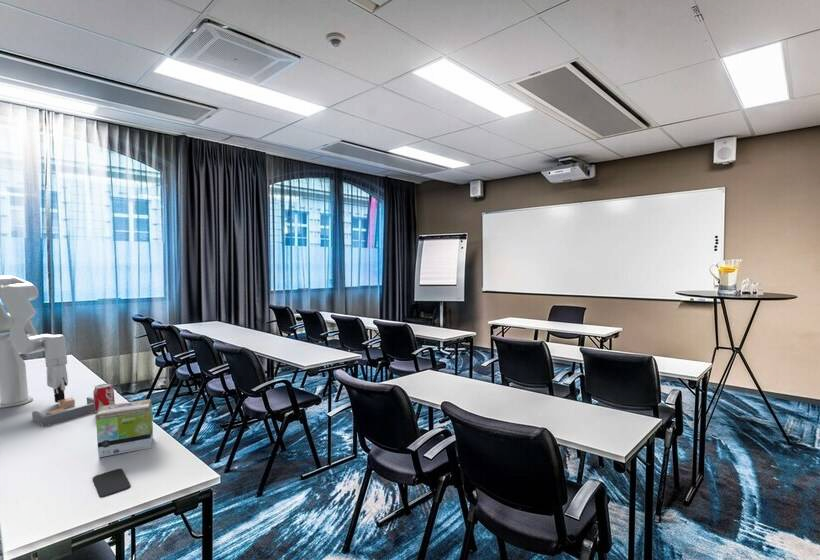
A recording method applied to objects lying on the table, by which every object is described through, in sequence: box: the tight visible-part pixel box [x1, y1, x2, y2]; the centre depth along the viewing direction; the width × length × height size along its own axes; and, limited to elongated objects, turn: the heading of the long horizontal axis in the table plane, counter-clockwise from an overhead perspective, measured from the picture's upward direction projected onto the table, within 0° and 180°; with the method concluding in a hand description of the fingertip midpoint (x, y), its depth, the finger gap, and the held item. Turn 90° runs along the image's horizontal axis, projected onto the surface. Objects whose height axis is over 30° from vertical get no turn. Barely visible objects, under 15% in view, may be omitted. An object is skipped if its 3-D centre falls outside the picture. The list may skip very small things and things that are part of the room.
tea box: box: [95, 398, 154, 459], centre depth 146 cm, size 15×10×15 cm, turn 117°
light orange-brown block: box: [45, 408, 67, 416], centre depth 177 cm, size 5×5×3 cm
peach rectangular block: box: [57, 397, 76, 409], centre depth 190 cm, size 5×5×3 cm
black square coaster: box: [92, 468, 132, 498], centre depth 123 cm, size 7×1×15 cm
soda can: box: [92, 383, 116, 416], centre depth 179 cm, size 7×7×12 cm
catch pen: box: [31, 396, 95, 427], centre depth 180 cm, size 13×20×4 cm, turn 148°
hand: (59, 401), depth 194 cm, fingers closed
